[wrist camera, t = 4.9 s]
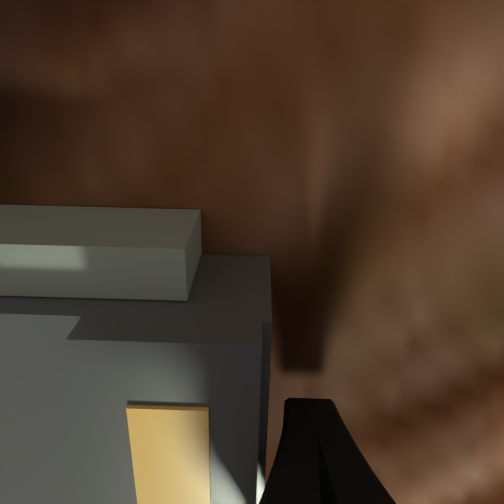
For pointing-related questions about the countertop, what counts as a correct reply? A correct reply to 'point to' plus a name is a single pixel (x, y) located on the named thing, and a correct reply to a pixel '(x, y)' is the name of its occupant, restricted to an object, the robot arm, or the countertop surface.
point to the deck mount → (99, 252)
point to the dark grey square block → (139, 393)
